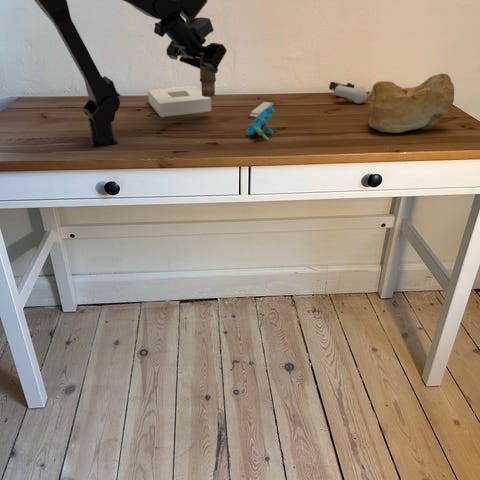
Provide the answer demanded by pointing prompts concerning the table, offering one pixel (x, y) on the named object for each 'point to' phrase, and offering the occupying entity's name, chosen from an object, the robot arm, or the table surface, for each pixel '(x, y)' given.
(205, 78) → the walnut peg
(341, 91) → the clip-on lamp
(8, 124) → the table surface
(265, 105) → the harmonica
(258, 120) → the gear
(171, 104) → the white board
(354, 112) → the table surface
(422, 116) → the rough brown rock
